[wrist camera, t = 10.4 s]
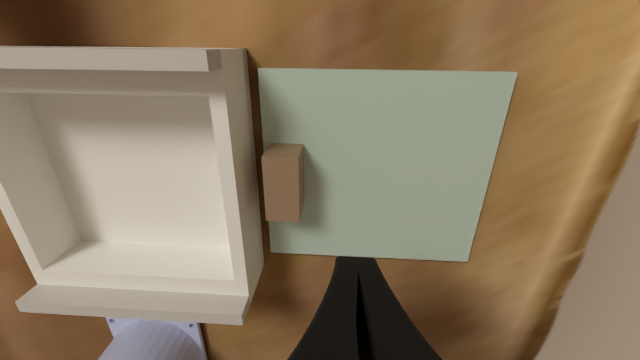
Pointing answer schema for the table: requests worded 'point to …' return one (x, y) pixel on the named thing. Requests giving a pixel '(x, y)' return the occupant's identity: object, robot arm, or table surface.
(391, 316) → the robot arm
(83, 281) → the box
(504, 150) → the table surface
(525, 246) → the table surface
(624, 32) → the table surface
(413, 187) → the cover plate
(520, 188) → the table surface
